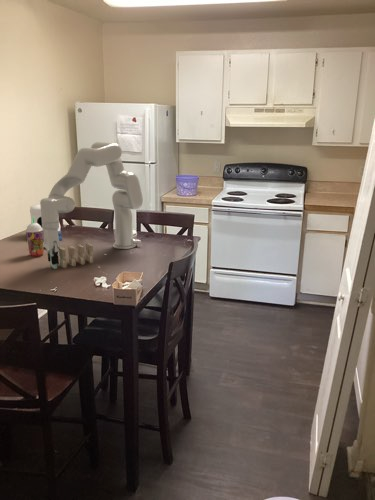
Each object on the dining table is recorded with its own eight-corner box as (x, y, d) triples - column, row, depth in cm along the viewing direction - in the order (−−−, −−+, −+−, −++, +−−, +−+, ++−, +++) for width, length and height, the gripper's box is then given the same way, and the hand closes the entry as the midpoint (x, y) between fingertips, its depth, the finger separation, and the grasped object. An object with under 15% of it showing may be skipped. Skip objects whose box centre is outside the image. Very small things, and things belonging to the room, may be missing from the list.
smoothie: (35, 258, 220) (31, 220, 214) (24, 255, 224) (20, 218, 218) (48, 254, 227) (45, 217, 221) (37, 252, 231) (34, 215, 225)
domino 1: (53, 265, 210) (52, 247, 207) (57, 268, 206) (55, 249, 203) (50, 265, 209) (49, 247, 206) (53, 268, 205) (52, 250, 202)
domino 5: (89, 260, 219) (88, 242, 217) (93, 262, 215) (92, 245, 213) (86, 260, 218) (85, 243, 216) (90, 263, 214) (89, 245, 212)
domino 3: (72, 263, 214) (71, 245, 212) (75, 265, 210) (74, 248, 208) (69, 263, 214) (67, 245, 211) (72, 266, 210) (71, 248, 207)
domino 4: (81, 261, 217) (80, 244, 214) (84, 264, 213) (83, 246, 210) (77, 262, 216) (76, 244, 213) (81, 264, 212) (80, 247, 209)
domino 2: (63, 264, 212) (61, 246, 209) (66, 267, 208) (65, 249, 205) (60, 265, 211) (58, 247, 209) (63, 267, 207) (62, 249, 205)
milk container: (34, 232, 271) (32, 203, 265) (63, 231, 273) (61, 203, 267) (27, 239, 254) (25, 209, 249) (58, 239, 256) (56, 209, 251)
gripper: (37, 222, 206) (40, 259, 211) (47, 229, 192) (51, 268, 198) (53, 220, 210) (55, 256, 215) (64, 227, 196) (67, 266, 202)
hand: (53, 262), depth 206 cm, fingers closed on domino 1, 4 cm apart
